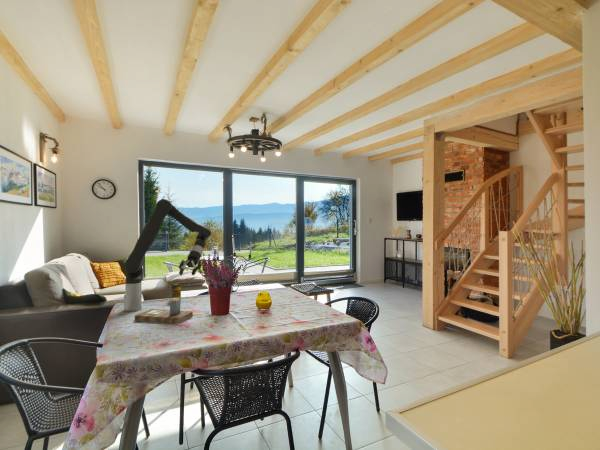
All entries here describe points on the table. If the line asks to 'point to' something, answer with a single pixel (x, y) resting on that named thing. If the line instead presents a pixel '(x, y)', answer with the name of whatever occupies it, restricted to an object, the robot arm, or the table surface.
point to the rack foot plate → (163, 316)
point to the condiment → (176, 291)
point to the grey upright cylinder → (175, 306)
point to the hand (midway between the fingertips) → (186, 274)
